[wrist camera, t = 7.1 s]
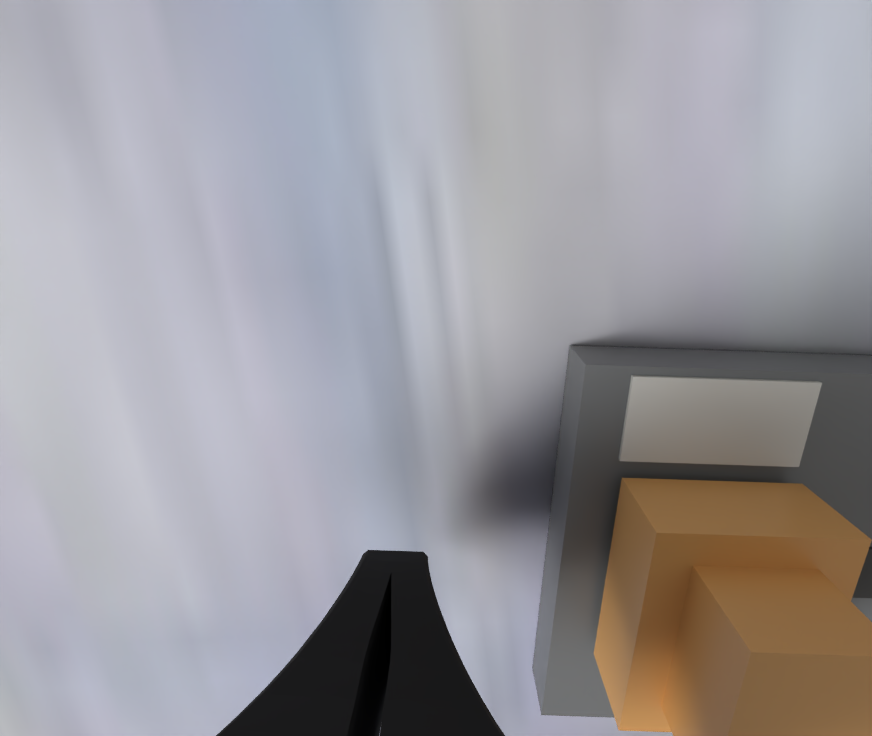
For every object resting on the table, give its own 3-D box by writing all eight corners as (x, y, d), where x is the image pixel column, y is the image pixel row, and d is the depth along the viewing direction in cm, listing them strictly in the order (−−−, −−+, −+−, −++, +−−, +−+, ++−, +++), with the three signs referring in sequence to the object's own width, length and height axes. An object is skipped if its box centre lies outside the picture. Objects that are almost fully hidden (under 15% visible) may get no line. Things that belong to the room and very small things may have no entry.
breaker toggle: (593, 653, 13) (653, 837, 10) (621, 477, 12) (707, 614, 8) (752, 658, 13) (877, 844, 10) (802, 483, 12) (975, 622, 8)
